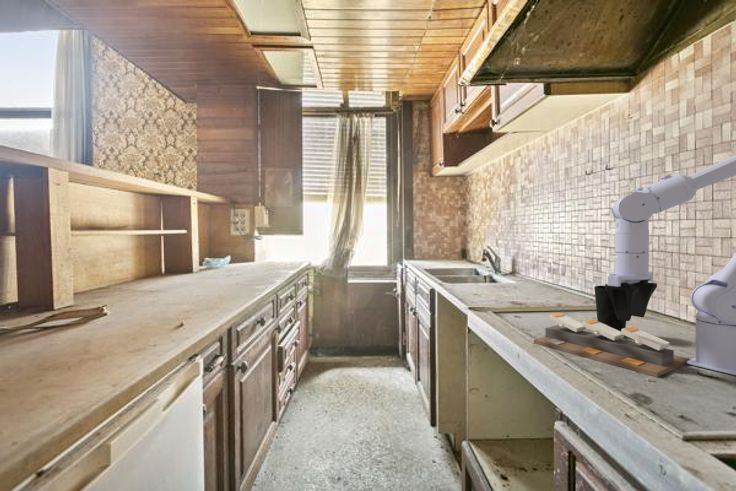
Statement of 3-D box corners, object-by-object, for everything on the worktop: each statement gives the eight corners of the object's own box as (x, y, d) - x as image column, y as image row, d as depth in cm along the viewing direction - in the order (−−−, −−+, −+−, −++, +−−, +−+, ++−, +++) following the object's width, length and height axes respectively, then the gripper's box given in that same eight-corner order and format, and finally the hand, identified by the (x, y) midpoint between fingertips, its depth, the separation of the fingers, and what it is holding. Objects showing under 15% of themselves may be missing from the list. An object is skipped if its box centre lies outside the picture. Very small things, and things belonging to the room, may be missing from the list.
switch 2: (622, 340, 81) (625, 332, 81) (612, 343, 79) (615, 335, 79) (590, 325, 87) (592, 318, 86) (580, 328, 85) (582, 320, 84)
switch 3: (666, 350, 74) (669, 341, 74) (657, 353, 72) (660, 345, 72) (629, 333, 80) (631, 325, 79) (619, 336, 78) (621, 328, 77)
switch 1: (585, 332, 88) (587, 325, 87) (575, 334, 86) (577, 327, 85) (557, 319, 94) (559, 312, 93) (547, 321, 92) (549, 314, 91)
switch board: (689, 362, 75) (689, 347, 75) (657, 377, 68) (657, 360, 68) (568, 334, 97) (568, 322, 97) (533, 343, 89) (533, 330, 89)
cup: (594, 336, 95) (595, 288, 94) (592, 329, 101) (593, 284, 101) (631, 340, 91) (632, 290, 91) (627, 332, 98) (627, 286, 97)
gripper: (627, 250, 84) (627, 310, 85) (592, 253, 77) (591, 319, 77) (665, 251, 78) (664, 316, 79) (630, 254, 71) (629, 326, 71)
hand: (630, 318), depth 78 cm, fingers open, 5 cm apart
